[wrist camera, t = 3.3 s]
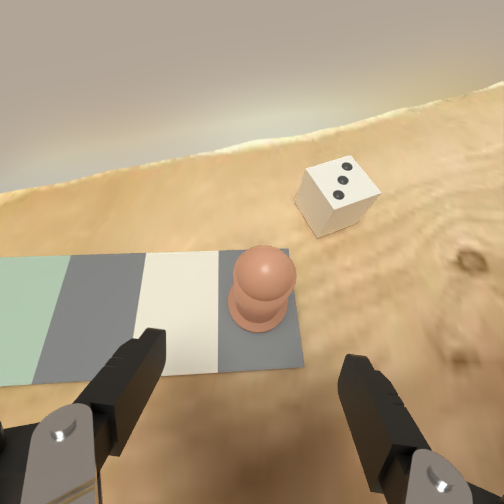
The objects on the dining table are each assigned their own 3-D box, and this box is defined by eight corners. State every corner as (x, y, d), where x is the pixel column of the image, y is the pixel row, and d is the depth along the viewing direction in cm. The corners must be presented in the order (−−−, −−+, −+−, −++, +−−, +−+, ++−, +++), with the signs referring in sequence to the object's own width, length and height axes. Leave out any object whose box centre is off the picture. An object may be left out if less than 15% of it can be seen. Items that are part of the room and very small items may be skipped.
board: (285, 255, 23) (288, 248, 22) (299, 366, 19) (304, 367, 18) (8, 264, 22) (-8, 257, 20) (-45, 388, 17) (-69, 390, 16)
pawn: (282, 274, 21) (306, 221, 13) (289, 331, 19) (322, 307, 11) (228, 277, 21) (220, 223, 13) (228, 334, 18) (219, 312, 11)
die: (332, 189, 27) (350, 154, 23) (356, 223, 25) (382, 192, 21) (294, 202, 26) (305, 167, 22) (316, 238, 24) (334, 209, 20)
